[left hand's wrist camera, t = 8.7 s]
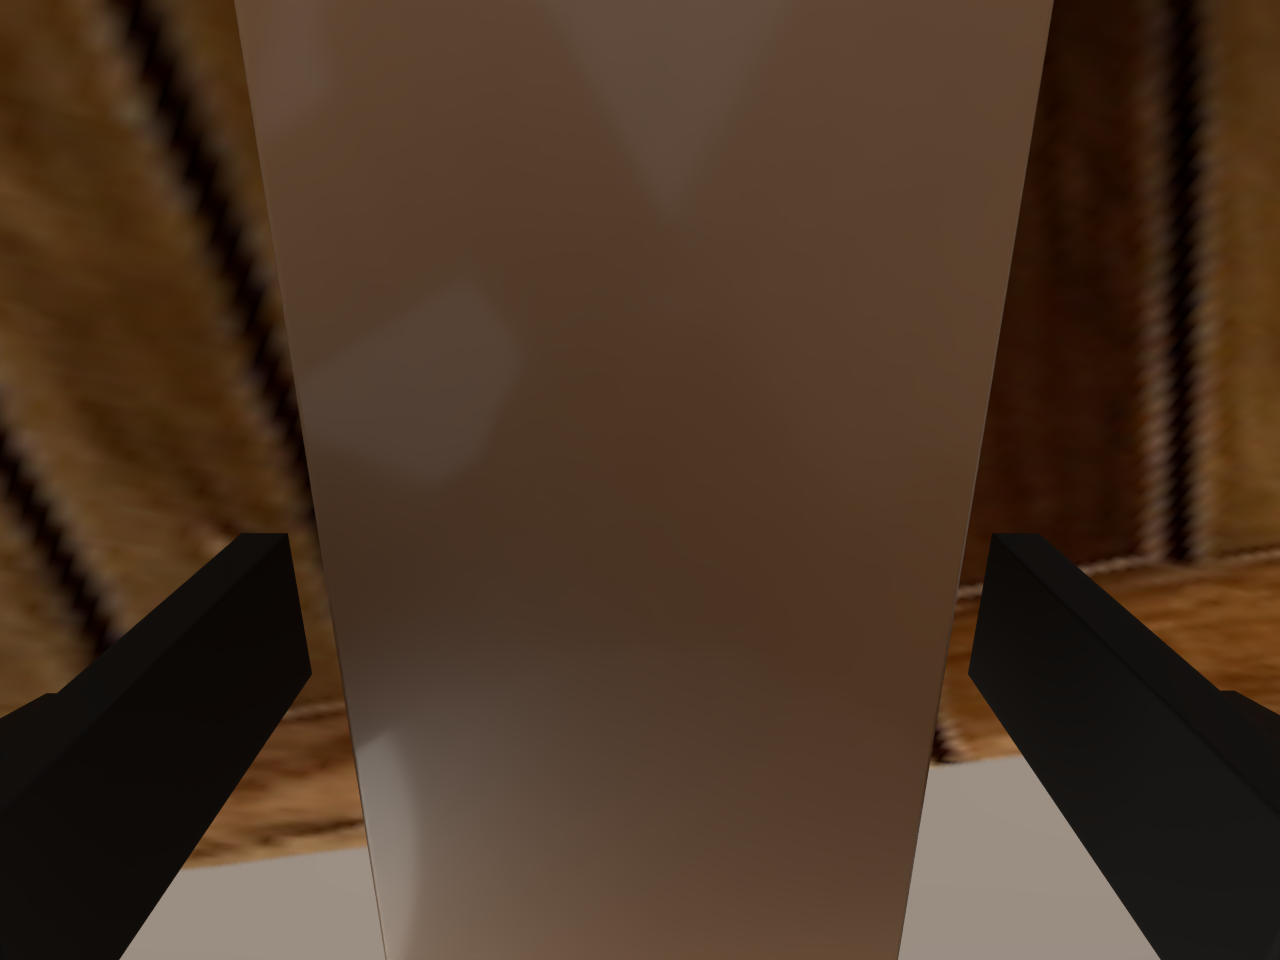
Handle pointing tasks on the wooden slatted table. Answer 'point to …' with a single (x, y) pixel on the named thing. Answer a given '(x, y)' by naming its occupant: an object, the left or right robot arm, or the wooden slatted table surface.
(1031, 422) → the wooden slatted table surface
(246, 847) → the wooden slatted table surface
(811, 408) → the bar
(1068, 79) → the wooden slatted table surface
